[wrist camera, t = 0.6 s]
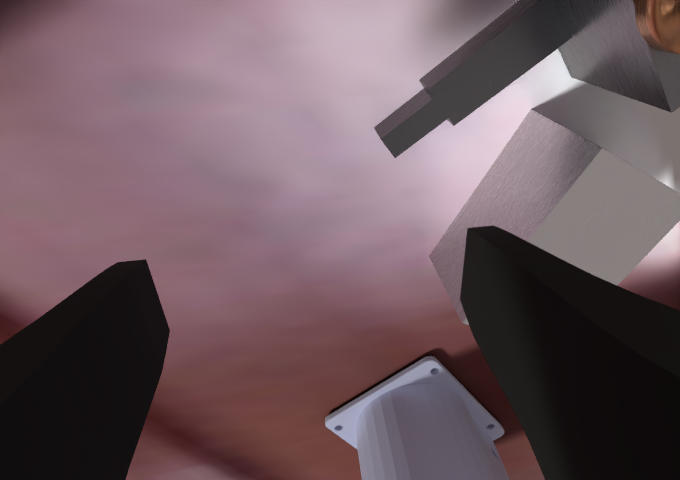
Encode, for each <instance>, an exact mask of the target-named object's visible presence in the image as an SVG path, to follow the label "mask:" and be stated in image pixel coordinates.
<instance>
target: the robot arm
mask: <svg viewBox="0 0 680 480" xmlns="http://www.w3.org/2000/svg"><path fill="white" fill-rule="evenodd" d="M460 301H461V304H462V307H463V309H464V312H465V315H466V318H467V321H468V323H469V326H470V328H471V331H472V333H473V336H474V338H475V340H476V342H477V344H478V346H479V347H480V349H481V351H482V353H483V355H484V357H485V359H486V361H487V362H488V364H489V366H490V368H491V370H492V372H493V373H494V375H495V377H496V379H497V381H498V383H499V384H500V386H501V388H502V390H503V392H504V394H505V395H506V397H507V399H508V401H509V403H510V405H511V406H512V408H513V410H514V412H515V414H516V416H517V417H518V419H519V421H520V423H521V425H522V427H523V429H524V432H525V434H526V436H527V438H528V440H529V442H530V444H531V447H532V449H533V451H534V454H535V456H536V459H537V461H538V463H539V466H540V468H541V471H542V473H543V475H544V478H545V480H680V311H679V310H676V309H674V308H671V307H668V306H666V305H663V304H660V303H658V302H655V301H653V300H650V299H647V298H645V297H642V296H640V295H637V294H635V293H633V292H630V291H628V290H625V289H623V288H621V287H619V286H617V285H614V284H612V283H610V282H608V281H606V280H603V279H601V278H599V277H597V276H594V275H592V274H590V273H588V272H586V271H584V270H582V269H580V268H578V267H576V266H574V265H572V264H570V263H568V262H566V261H564V260H562V259H560V258H558V257H556V256H554V255H552V254H550V253H548V252H547V251H545V250H543V249H541V248H539V247H537V246H535V245H533V244H531V243H529V242H527V241H525V240H524V239H522V238H520V237H518V236H516V235H514V234H512V233H510V232H508V231H506V230H503V229H501V228H499V227H496V226H494V225H493V226H482V227H472V228H467V236H466V245H465V255H464V265H463V274H462V284H461V294H460ZM169 332H170V330H169V327H168V324H167V321H166V318H165V315H164V312H163V309H162V306H161V303H160V300H159V297H158V294H157V291H156V288H155V285H154V282H153V279H152V276H151V273H150V270H149V267H148V264H147V261H146V260H137V261H126V262H118V263H116V264H114V265H112V266H111V267H109V268H108V269H106V270H105V271H103V272H102V273H100V274H99V275H97V276H96V277H95V278H93V279H92V280H90V281H89V282H88V283H86V284H85V285H84V286H82V287H81V288H79V289H78V290H77V291H75V292H74V293H73V294H71V295H70V296H69V297H67V298H66V299H65V300H63V301H62V302H60V303H59V304H58V305H56V306H55V307H54V308H52V309H51V310H50V311H48V312H47V313H45V314H44V315H43V316H41V317H40V318H39V319H37V320H36V321H34V322H33V323H31V324H30V325H29V326H27V327H26V328H24V329H23V330H21V331H20V332H18V333H17V334H15V335H14V336H12V337H11V338H10V339H8V340H7V341H5V342H4V343H2V344H1V345H0V480H125V479H126V476H127V473H128V469H129V466H130V463H131V460H132V457H133V455H134V452H135V449H136V446H137V443H138V440H139V437H140V434H141V432H142V429H143V426H144V423H145V420H146V417H147V414H148V411H149V409H150V406H151V403H152V400H153V397H154V394H155V391H156V388H157V385H158V382H159V379H160V376H161V373H162V369H163V364H164V359H165V354H166V349H167V343H168V337H169ZM434 368H435V369H434ZM325 425H326V427H327V428H329V429H330V430H331V431H333V432H334V433H335V434H337V435H338V436H340V437H341V438H342V439H344V440H345V441H346V442H348V443H349V444H351V445H352V446H353V447H355V448H356V449H357V450H358V455H359V462H360V469H361V476H362V480H510V479H509V476H508V474H507V472H506V470H505V467H504V465H503V463H502V461H501V458H500V456H499V454H498V452H497V449H496V447H495V445H494V442H493V441H494V440H496V439H498V438H500V437H501V436H503V434H504V432H505V431H504V429H503V427H502V425H501V424H500V423H499V422H498V421H497V420H496V419H495V418H494V417H493V416H492V415H491V414H490V413H489V412H488V411H487V410H486V409H485V408H484V407H483V406H482V405H481V404H480V403H479V402H478V401H477V400H476V399H475V398H474V397H473V396H472V395H471V394H470V393H469V392H468V391H467V390H466V388H465V387H464V386H463V385H462V384H461V383H460V382H459V381H458V380H457V379H456V378H455V377H454V376H453V375H452V374H451V373H450V372H449V371H448V370H447V369H446V368H445V367H444V366H443V365H442V364H441V363H440V362H439V361H438V360H437V359H436V358H435V357H433V356H427V357H424V358H423V359H421V360H419V361H418V362H416V363H414V364H413V365H411V366H409V367H408V368H406V369H404V370H403V371H401V372H399V373H398V374H396V375H394V376H393V377H391V378H389V379H388V380H386V381H384V382H383V383H381V384H380V385H378V386H376V387H375V388H373V389H371V390H370V391H368V392H366V393H365V394H363V395H361V396H360V397H358V398H356V399H355V400H353V401H351V402H350V403H348V404H346V405H345V406H343V407H341V408H340V409H338V410H336V411H335V412H333V413H332V414H330V415H328V416H327V417H326V418H325Z"/></svg>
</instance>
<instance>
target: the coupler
mask: <svg viewBox="0 0 680 480" xmlns="http://www.w3.org/2000/svg"><path fill="white" fill-rule="evenodd" d="M556 49H559V51H560V53H561V55H562V58H563V60H564V62H565V64H566V66H567V69H568V71H569V73H570V75H571V77H572V78H575V79H578V80H581V81H584V82H586V83H589V84H592V85H595V86H598V87H601V88H604V89H606V90H609V91H612V92H615V93H618V94H621V95H623V96H626V97H629V98H632V99H635V100H638V101H640V102H643V103H646V104H649V105H652V106H655V107H658V108H661V109H663V110H666V111H669V112H673V111H674V110H676V109H677V108H679V107H680V0H520V1H518V2H517V3H516V4H515V5H513V6H512V7H511V8H510V9H508V10H507V11H506V12H505V13H503V14H502V15H501V16H500V17H498V18H497V19H496V20H494V21H493V22H492V23H491V24H489V25H488V26H487V27H486V28H484V29H483V30H482V31H481V32H479V33H478V34H477V35H476V36H474V37H473V38H472V39H471V40H469V41H468V42H467V43H465V44H464V45H463V46H462V47H460V48H459V49H458V50H457V51H455V52H454V53H453V54H452V55H450V56H449V57H448V58H447V59H445V60H444V61H443V62H442V63H440V64H439V65H438V66H436V67H435V68H434V69H433V70H431V71H430V72H429V73H428V74H426V75H425V76H424V77H423V78H421V79H420V80H419V81H420V82H421V84H422V85H423V87H424V89H423V90H422V91H420V92H419V93H418V94H417V95H415V96H414V97H413V98H412V99H410V100H409V101H408V102H406V103H405V104H404V105H403V106H401V107H400V108H399V109H398V110H396V111H395V112H394V113H392V114H391V115H390V116H389V117H387V118H386V119H385V120H383V121H382V122H381V123H380V124H378V125H377V126H376V127H375V130H376V132H377V133H378V135H379V137H380V139H381V140H382V141H383V143H384V144H385V145H386V147H387V148H388V149H389V151H390V152H391V153H392V155H393V156H394V157H395V158H396V157H397V156H399V155H400V154H401V153H403V152H404V151H405V150H407V149H408V148H409V147H411V146H412V145H413V144H415V143H416V142H417V141H419V140H420V139H421V138H422V137H424V136H425V135H426V134H428V133H429V132H430V131H432V130H433V129H434V128H436V127H437V126H438V125H440V124H441V123H442V122H444V121H445V120H446V119H447V120H448V121H449V122H450V123H451V124H452V125H453V126H454V125H456V124H457V123H458V122H460V121H461V120H462V119H464V118H465V117H466V116H468V115H469V114H470V113H472V112H473V111H474V110H476V109H477V108H478V107H480V106H481V105H482V104H484V103H485V102H487V101H488V100H489V99H491V98H492V97H493V96H495V95H496V94H497V93H499V92H500V91H501V90H503V89H504V88H505V87H507V86H508V85H509V84H511V83H512V82H513V81H515V80H516V79H517V78H519V77H520V76H521V75H523V74H524V73H525V72H527V71H528V70H529V69H531V68H532V67H533V66H535V65H536V64H538V63H539V62H540V61H542V60H543V59H544V58H546V57H547V56H548V55H550V54H551V53H552V52H554V51H555V50H556Z"/></svg>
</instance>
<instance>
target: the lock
mask: <svg viewBox="0 0 680 480" xmlns="http://www.w3.org/2000/svg"><path fill="white" fill-rule="evenodd" d="M679 221H680V193H679V192H677V191H675V190H673V189H672V188H670V187H668V186H667V185H665V184H663V183H661V182H660V181H658V180H656V179H655V178H653V177H651V176H649V175H648V174H646V173H644V172H643V171H641V170H639V169H637V168H636V167H634V166H632V165H631V164H629V163H627V162H625V161H624V160H622V159H620V158H619V157H617V156H615V155H614V154H612V153H610V152H608V151H607V150H605V149H603V148H601V147H600V146H598V145H596V144H594V143H592V142H590V141H589V140H587V139H585V138H583V137H581V136H579V135H578V134H576V133H574V132H572V131H570V130H568V129H567V128H565V127H563V126H561V125H559V124H557V123H555V122H554V121H552V120H550V119H548V118H546V117H544V116H543V115H541V114H539V113H537V112H535V111H533V110H532V109H531V110H530V111H529V113H528V114H527V116H526V117H525V118H524V120H523V121H522V123H521V124H520V126H519V127H518V129H517V130H516V131H515V133H514V134H513V136H512V137H511V139H510V140H509V142H508V143H507V144H506V146H505V147H504V149H503V150H502V152H501V153H500V155H499V156H498V157H497V159H496V160H495V162H494V163H493V165H492V166H491V167H490V169H489V170H488V172H487V173H486V175H485V176H484V178H483V179H482V180H481V182H480V183H479V185H478V186H477V188H476V189H475V191H474V192H473V193H472V195H471V196H470V198H469V199H468V201H467V202H466V203H465V205H464V206H463V208H462V209H461V211H460V212H459V214H458V215H457V216H456V218H455V219H454V221H453V222H452V224H451V225H450V227H449V228H448V229H447V231H446V232H445V234H444V235H443V237H442V238H441V239H440V241H439V242H438V244H437V245H436V247H435V248H434V250H433V251H432V252H431V254H430V255H429V257H430V259H431V261H432V263H433V265H434V267H435V269H436V271H437V273H438V275H439V277H440V279H441V281H442V283H443V285H444V287H445V289H446V291H447V293H448V295H449V297H450V299H451V301H452V303H453V305H454V307H455V309H456V311H457V313H458V315H459V317H460V319H461V321H462V323H464V324H467V325H469V323H468V321H467V318H466V315H465V312H464V309H463V307H462V304H461V301H460V294H461V284H462V274H463V265H464V255H465V245H466V236H467V228H472V227H482V226H493V225H494V226H496V227H499V228H501V229H503V230H506V231H508V232H510V233H512V234H514V235H516V236H518V237H520V238H522V239H524V240H525V241H527V242H529V243H531V244H533V245H535V246H537V247H539V248H541V249H543V250H545V251H547V252H548V253H550V254H552V255H554V256H556V257H558V258H560V259H562V260H564V261H566V262H568V263H570V264H572V265H574V266H576V267H578V268H580V269H582V270H584V271H586V272H588V273H590V274H592V275H594V276H597V277H599V278H601V279H603V280H606V281H608V282H610V283H612V284H614V285H618V284H619V283H620V282H621V281H622V280H623V279H624V278H625V277H626V276H627V275H628V274H629V273H630V272H631V271H632V270H633V269H634V268H635V267H636V265H637V264H638V263H639V262H640V261H641V260H642V259H643V258H644V257H645V256H646V255H647V254H648V253H649V252H650V251H651V250H652V249H653V248H654V247H655V246H656V245H657V244H658V243H659V241H660V240H661V239H662V238H663V237H664V236H665V235H666V234H667V233H668V232H669V231H670V230H671V229H672V228H673V227H674V226H675V225H676V224H677V223H678V222H679Z"/></svg>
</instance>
